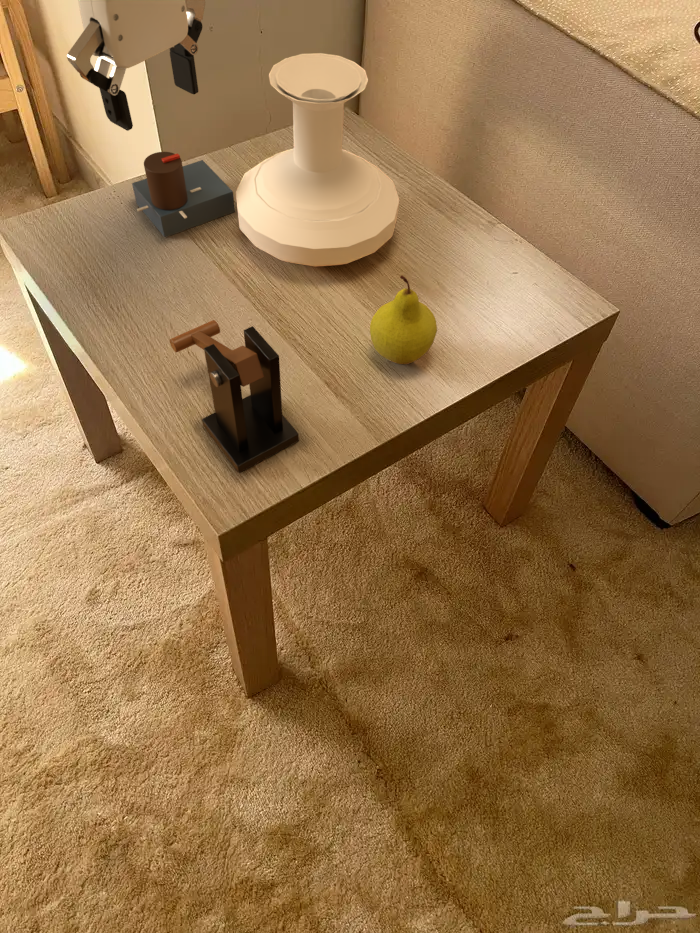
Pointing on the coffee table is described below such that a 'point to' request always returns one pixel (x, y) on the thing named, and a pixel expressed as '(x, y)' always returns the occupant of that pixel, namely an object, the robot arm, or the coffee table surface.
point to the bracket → (247, 407)
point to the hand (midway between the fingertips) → (155, 106)
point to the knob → (166, 180)
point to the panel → (189, 201)
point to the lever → (222, 351)
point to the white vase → (317, 174)
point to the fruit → (403, 328)
